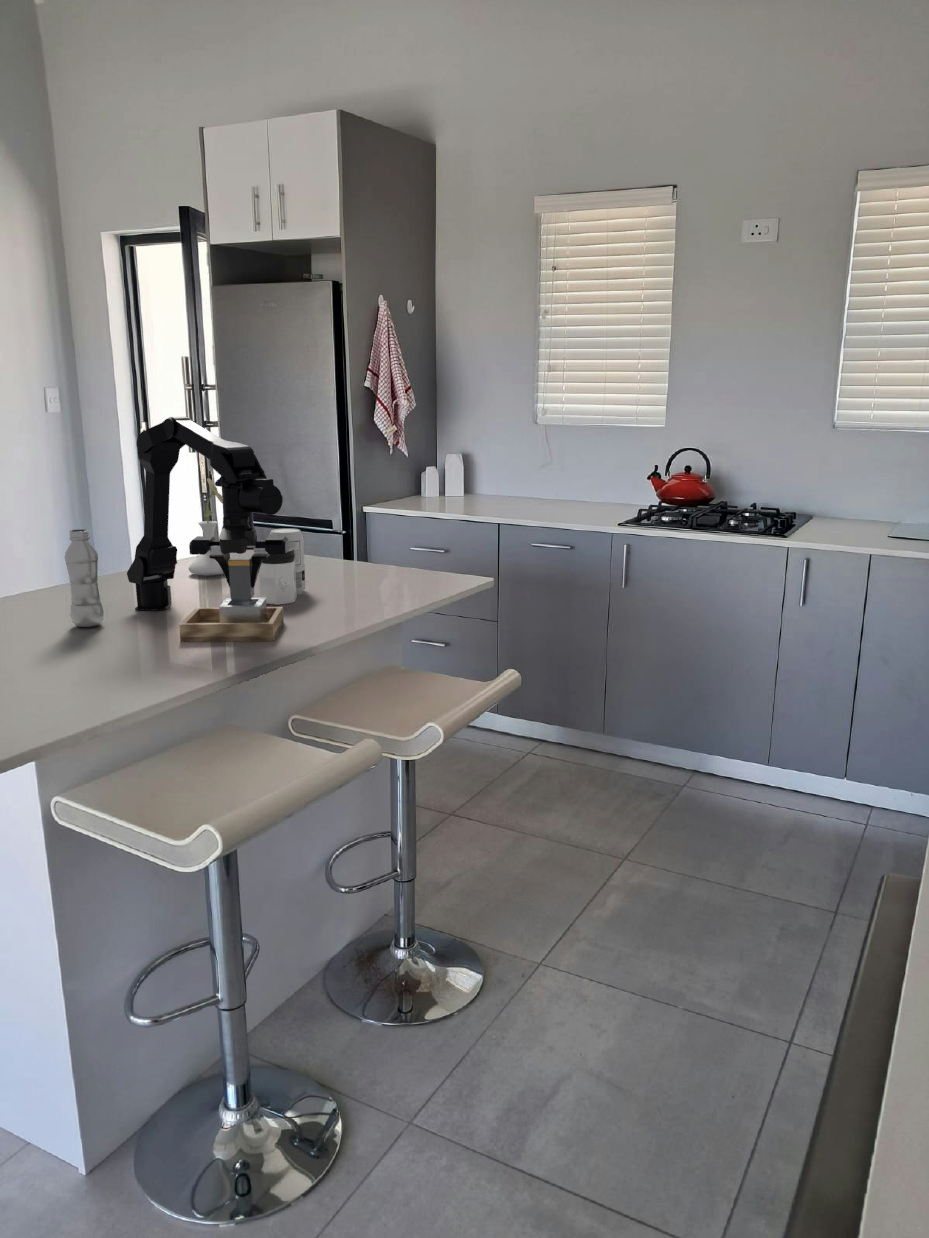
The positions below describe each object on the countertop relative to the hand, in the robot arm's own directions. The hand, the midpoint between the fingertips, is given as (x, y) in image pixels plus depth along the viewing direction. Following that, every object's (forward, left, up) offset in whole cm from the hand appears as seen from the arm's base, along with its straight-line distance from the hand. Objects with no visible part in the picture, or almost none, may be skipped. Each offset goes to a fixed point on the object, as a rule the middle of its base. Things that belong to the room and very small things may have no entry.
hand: (242, 587), depth 187 cm
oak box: (-2, -1, -9) cm, 9 cm away
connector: (0, 0, -2) cm, 2 cm away
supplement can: (+4, +36, -9) cm, 37 cm away
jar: (+3, +27, -9) cm, 29 cm away
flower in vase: (-19, +59, -9) cm, 63 cm away
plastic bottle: (-33, +5, -9) cm, 35 cm away
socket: (0, 0, -9) cm, 9 cm away
